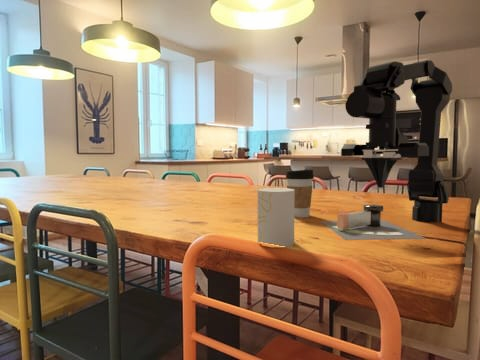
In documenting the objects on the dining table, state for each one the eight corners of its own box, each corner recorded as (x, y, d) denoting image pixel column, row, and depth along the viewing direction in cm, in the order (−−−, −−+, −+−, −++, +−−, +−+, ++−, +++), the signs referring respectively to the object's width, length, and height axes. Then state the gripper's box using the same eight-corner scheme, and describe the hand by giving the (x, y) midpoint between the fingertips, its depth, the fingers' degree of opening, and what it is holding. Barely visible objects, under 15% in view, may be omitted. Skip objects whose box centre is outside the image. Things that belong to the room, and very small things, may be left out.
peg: (371, 222, 93) (371, 203, 92) (386, 225, 89) (387, 206, 88) (332, 229, 85) (333, 208, 85) (348, 233, 81) (348, 211, 81)
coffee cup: (313, 221, 100) (314, 170, 99) (284, 220, 102) (284, 170, 101) (313, 216, 108) (313, 168, 107) (286, 215, 110) (286, 168, 109)
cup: (255, 239, 80) (255, 188, 80) (289, 238, 81) (289, 187, 80) (260, 248, 72) (260, 192, 71) (298, 247, 73) (298, 191, 72)
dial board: (385, 224, 96) (385, 219, 96) (426, 242, 76) (426, 237, 76) (321, 225, 95) (321, 220, 95) (345, 244, 75) (345, 238, 75)
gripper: (441, 118, 76) (438, 187, 78) (365, 124, 91) (364, 182, 92) (417, 115, 70) (415, 191, 71) (340, 122, 84) (339, 185, 86)
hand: (381, 187), depth 80 cm, fingers closed
